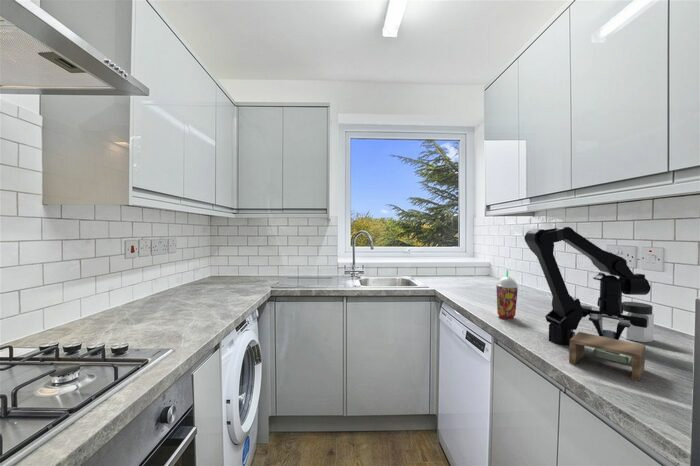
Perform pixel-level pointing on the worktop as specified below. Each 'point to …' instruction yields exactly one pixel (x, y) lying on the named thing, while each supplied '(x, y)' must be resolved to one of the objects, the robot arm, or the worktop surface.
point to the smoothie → (506, 297)
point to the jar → (634, 331)
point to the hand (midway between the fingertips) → (609, 341)
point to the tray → (611, 356)
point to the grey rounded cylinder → (609, 334)
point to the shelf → (610, 345)
